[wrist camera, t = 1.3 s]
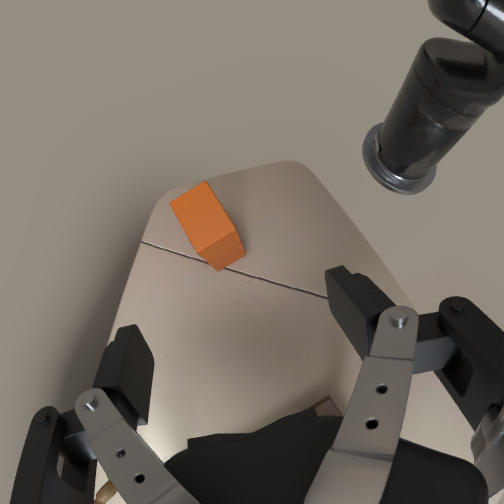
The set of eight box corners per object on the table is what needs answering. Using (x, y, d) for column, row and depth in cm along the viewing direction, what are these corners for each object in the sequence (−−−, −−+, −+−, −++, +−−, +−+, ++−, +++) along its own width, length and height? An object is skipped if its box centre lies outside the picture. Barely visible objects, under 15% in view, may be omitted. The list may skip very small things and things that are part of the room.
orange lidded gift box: (223, 216, 39) (205, 180, 28) (246, 254, 38) (236, 229, 27) (196, 233, 39) (168, 202, 28) (218, 271, 38) (196, 253, 27)
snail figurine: (108, 468, 33) (65, 503, 21) (125, 442, 34) (80, 475, 22) (139, 491, 32) (103, 532, 20) (158, 465, 33) (121, 507, 21)
